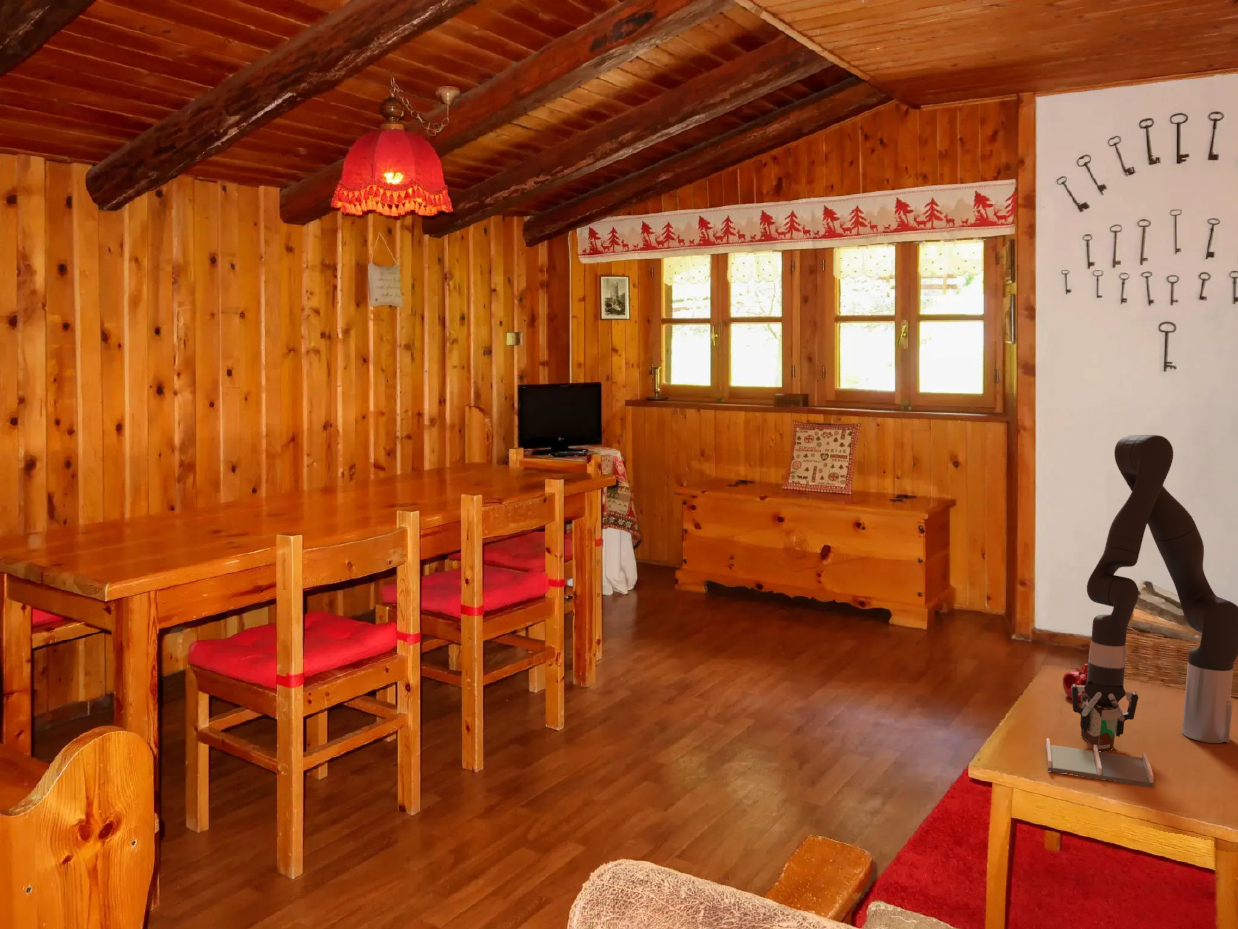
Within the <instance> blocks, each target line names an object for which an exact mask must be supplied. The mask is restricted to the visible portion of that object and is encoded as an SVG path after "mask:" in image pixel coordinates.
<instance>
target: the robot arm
mask: <svg viewBox="0 0 1238 929" xmlns="http://www.w3.org/2000/svg"><path fill="white" fill-rule="evenodd" d="M1115 444H1116V445H1115V447H1114V454H1113V455H1114V461H1115V464H1116V466H1117V468H1118V471H1119V472H1120V474H1121V476H1122V477H1123V479H1124V481H1125V482H1126V485H1127V486H1128V487H1129V489H1130V491H1131V492H1130V495H1129V497H1128V498H1127V500H1126V502H1125V503H1124V504H1123V506H1122V507H1121V508H1120V510H1119V511H1118V512H1117V513H1116V515H1115V517H1114V519H1113V521H1112V522H1111V524H1110V527H1109V530H1108V534H1107V536H1106V537H1107V538H1106V543H1105V546H1104V550H1103V553H1102V555H1101V556H1100V559H1099V560H1098V562H1097V564H1096V566H1095V567H1094V569H1093V571H1092V572H1091V574H1090V576H1089V578H1088V581H1087V584H1086V593H1087V596H1088V598H1089V600H1091V601H1092V602H1093V603H1096V604H1100V605H1104V606H1108V607H1113V610H1112V612H1111V613H1110V614H1098V615H1096V616H1095V617H1094V618H1093V619H1092V625H1091V626H1092V627H1091V629H1092V630H1091V640H1090V646H1089V651H1088V662H1087V664H1088V674H1087V682H1086V684H1085V685H1084V686H1080V685H1076V684H1072V686H1071V688H1072V699H1071V702H1072V710H1073V712H1074V713H1077V714H1079V715H1080V722H1079V725H1080V726H1079V727H1080V730H1081V729H1083V732H1087V725H1088V713H1089V712H1090V710H1091V709H1092V708H1093V707H1094V705H1095V704H1096V705H1099V706H1106V707H1112V706H1113V708H1114V709H1116V708H1118V707H1119V709H1120V710H1121V717H1120V718H1118V720H1117V726H1116V733H1115V737H1117V738H1118V737H1121V736H1122V735H1123V734H1124V728H1125V721H1127V720H1131V721H1132V720H1134V719H1135V715H1136V711H1137V710H1136V709H1137V707H1138V706H1137V705H1138V700H1139V695H1138V693H1137V691H1136V690H1134V691H1132V692H1131V691H1127V690H1125V688H1124V684H1125V674H1126V673H1125V672H1126V664H1127V659H1126V658H1127V650H1126V649H1127V648H1126V644H1127V632H1128V627H1129V626H1128V625H1129V622H1130V621H1131V620H1130V619H1131V617H1132V616H1133V611H1134V609H1135V606H1136V604H1137V602H1138V599H1139V596H1140V595H1139V587H1138V585H1137V583H1136V581H1135V580H1133V579H1132V578H1129V577H1125V576H1120V575H1116V573H1117V571H1118V569H1120V568H1128V567H1129V568H1133V567H1134V566H1136V565H1137V563H1138V560H1139V556H1140V551H1141V548H1142V543H1143V540H1144V536H1145V535H1144V534H1145V532H1146V528H1147V525H1148V529H1149V530H1150V533H1151V536H1152V538H1153V541H1154V542H1155V545H1156V548H1157V550H1158V552H1159V554H1160V555H1161V558H1162V560H1163V563H1164V564H1165V567H1166V570H1167V571H1168V573H1169V576H1170V577H1171V579H1172V582H1173V584H1174V588H1175V590H1176V593H1177V596H1178V600H1179V603H1180V607H1181V610H1182V612H1183V613H1182V614H1183V615H1184V618H1185V621H1186V622H1187V624H1188V625H1189V626H1190V627H1191V628H1192V629H1193V630H1194V631H1196V632H1198V633H1201V637H1200V644H1199V647H1195V648H1191V649H1189V651H1188V653H1187V654H1188V655H1187V669H1186V680H1185V691H1184V704H1183V716H1182V717H1183V718H1182V723H1181V724H1182V725H1181V727H1182V728H1181V733H1182V734H1183V736H1185V737H1186V738H1189V739H1192V740H1195V741H1198V742H1202V743H1209V744H1224V743H1223V742H1227V743H1226V744H1229V743H1230V737H1231V735H1230V734H1231V728H1232V726H1231V725H1232V715H1233V702H1232V700H1231V698H1232V686H1233V677H1234V676H1233V675H1234V665H1235V662H1236V659H1237V658H1238V605H1237V604H1235V602H1232V601H1230V600H1227V599H1225V598H1222V597H1219V596H1217V595H1216V594H1215V593H1214V591H1213V589H1212V587H1211V585H1210V583H1209V581H1208V578H1207V577H1206V574H1205V570H1204V556H1205V546H1204V541H1203V538H1202V535H1201V534H1200V531H1199V529H1198V526H1197V525H1196V522H1195V520H1194V518H1193V517H1192V515H1191V514H1190V512H1189V511H1188V510H1187V509H1186V508H1185V506H1183V505H1182V504H1181V503H1180V502H1179V501H1178V500H1177V499H1176V498H1175V497H1174V496H1173V495H1172V494H1171V493H1170V492H1169V491H1168V490H1167V488H1166V487H1165V486H1164V483H1165V481H1166V479H1167V476H1168V474H1169V472H1170V469H1171V466H1172V464H1173V460H1174V448H1173V445H1172V444H1171V441H1169V439H1168V438H1166V437H1164V436H1162V435H1158V434H1133V435H1132V434H1131V435H1126V436H1123V437H1121V438H1120V439H1119V440H1118V441H1117V443H1115ZM1082 691H1085V692H1086V693H1087V695H1088V696H1089V698H1088V699H1087V701H1086V703H1085V704H1084V706H1083V707H1082V706H1079V700H1078V695H1081V694H1082ZM1125 697H1126V701H1127V702H1129V703H1128V706H1127V711H1126V712H1123V711H1122V708H1121V706H1120V704H1119V702H1120V701H1121V700H1122V699H1123V698H1125ZM1118 704H1119V705H1118ZM1120 735H1121V736H1120Z"/></svg>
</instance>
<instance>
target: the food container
mask: <svg viewBox="0 0 1238 929" xmlns="http://www.w3.org/2000/svg"><path fill="white" fill-rule="evenodd" d="M1088 698H1089V696H1088V695H1087V694H1082V696H1081V701H1080V703H1081V707H1083V706H1084V704H1085V703H1086V701H1087V699H1088ZM1118 705H1119V706H1120V704H1119V703H1118ZM1121 710H1122V709H1121ZM1121 710H1120V709H1119V707H1118V708H1116V709H1114V708H1113V706H1112V707H1106V706H1099V705H1096V704H1095V705H1094V707H1093V708H1092V709H1091V710H1090V712H1089V713H1088V725H1087V732H1083V729H1081V728H1080V737H1081V736H1082V737H1083V738H1084V739H1085V740H1086V741H1085V740H1084V739H1083V738H1082V737H1081V738H1082V739H1083V740H1084V741H1085V742H1086V743H1087V742H1088V744H1089V746H1090V747H1092V748H1093V749H1094V745H1097V748H1098V752H1099V751H1101V752H1104V753H1106V752H1105V751H1107V752H1109V750H1110V751H1112V750H1113V749H1114V745H1115V738H1116V726H1117V720H1118V718H1120V717H1121ZM1112 748H1113V749H1112ZM1111 749H1112V750H1111Z"/></svg>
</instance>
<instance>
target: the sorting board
mask: <svg viewBox="0 0 1238 929" xmlns="http://www.w3.org/2000/svg"><path fill="white" fill-rule="evenodd" d="M1045 743H1046V744H1045V755H1046V754H1047V756H1046V765H1047V766H1048V768H1047V772H1048V771H1051V772H1056V773H1055V774H1058V773H1067V774H1073V775H1078V776H1084V777H1083V778H1085V777H1090V778H1089V779H1091V778H1098V779H1105V780H1111V781H1110V782H1112V781H1116V782H1115V783H1118V782H1120V783H1119V784H1127V785H1133V786H1138V785H1140V787H1147V788H1154V779H1155V778H1154V776H1155V775H1154V773H1153V770H1152V766H1151V764H1150V760H1149V758H1148V755H1147V752H1146V751H1145V750H1143V751H1142V754H1141V756H1140V757H1139V756H1132V755H1125V754H1117V753H1110V752H1098V748H1097V745H1094V748H1093V750H1091V749H1090V750H1089V749H1084V748H1083V749H1082V748H1077V747H1076V748H1075V747H1067V746H1061V745H1053V744H1051V740H1050V737H1047V738H1046V742H1045ZM1051 772H1050V773H1051ZM1078 776H1077V777H1078ZM1098 779H1097V780H1098ZM1105 780H1104V781H1105Z"/></svg>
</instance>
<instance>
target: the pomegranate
mask: <svg viewBox="0 0 1238 929" xmlns="http://www.w3.org/2000/svg"><path fill="white" fill-rule="evenodd" d="M1080 668H1081V669H1079V668H1078V667H1071V668H1070V670H1069V671H1067V672H1065V674H1064V675H1063V678H1062V686H1063V690H1064V693H1065V695H1066V696H1067V697H1068V698H1069V699H1071V700H1072V688H1071V686H1072V684H1076V685H1080V686H1084V685H1085V684H1086V682H1087V674H1088V663H1084V666H1083V665H1081V666H1080ZM1071 669H1074V670H1071ZM1082 694H1087V693H1086V692H1085V691H1082ZM1082 694H1081V695H1078V702H1079V701H1080V702H1081V696H1082Z"/></svg>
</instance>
